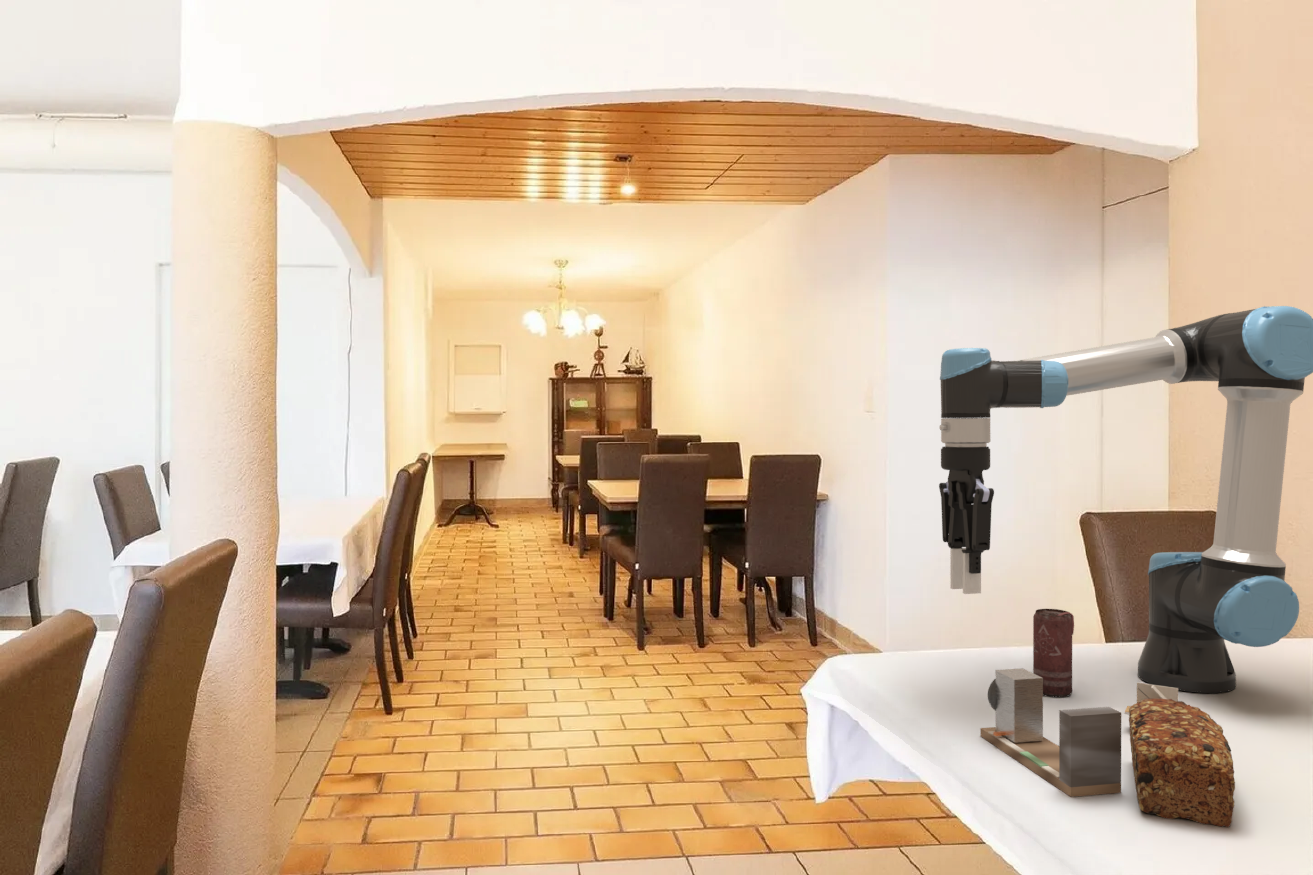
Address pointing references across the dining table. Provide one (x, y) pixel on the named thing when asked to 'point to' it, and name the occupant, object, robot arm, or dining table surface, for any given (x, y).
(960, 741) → the dining table surface
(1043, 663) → the can
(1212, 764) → the bread
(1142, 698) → the architectural model
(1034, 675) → the brushed steel block
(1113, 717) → the gauge body
